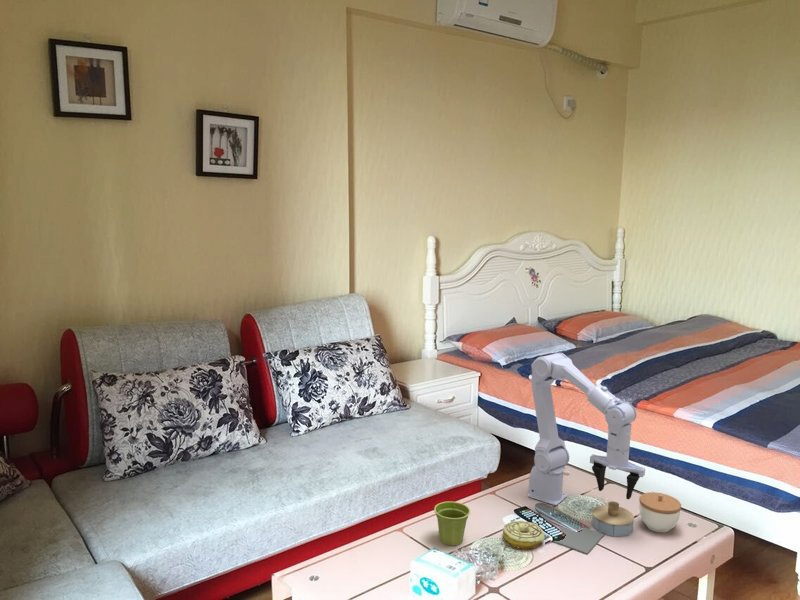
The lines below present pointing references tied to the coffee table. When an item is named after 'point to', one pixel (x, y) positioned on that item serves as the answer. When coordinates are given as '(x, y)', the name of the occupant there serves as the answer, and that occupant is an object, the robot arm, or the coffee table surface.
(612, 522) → the lid
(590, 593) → the coffee table surface
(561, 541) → the mat
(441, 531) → the plant pot
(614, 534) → the bowl
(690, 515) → the coffee table surface
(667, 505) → the lidded jar
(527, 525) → the decorated donut
